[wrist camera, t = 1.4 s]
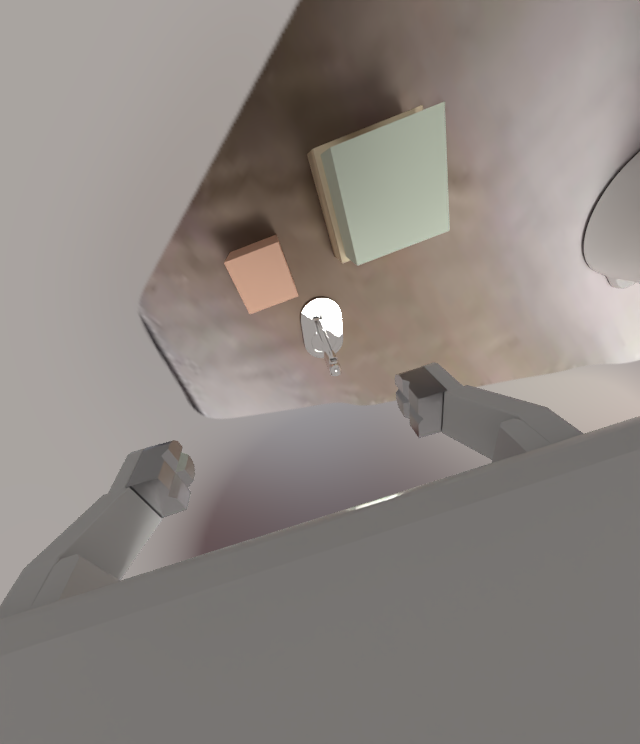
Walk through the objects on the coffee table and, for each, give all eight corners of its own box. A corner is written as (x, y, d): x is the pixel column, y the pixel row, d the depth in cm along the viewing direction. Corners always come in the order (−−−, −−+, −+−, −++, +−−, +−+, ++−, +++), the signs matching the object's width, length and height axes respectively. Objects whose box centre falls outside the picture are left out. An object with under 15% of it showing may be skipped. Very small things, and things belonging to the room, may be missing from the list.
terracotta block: (276, 234, 27) (278, 241, 23) (294, 281, 30) (298, 296, 26) (230, 252, 28) (223, 262, 23) (251, 297, 30) (249, 314, 26)
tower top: (416, 116, 21) (444, 101, 18) (426, 225, 26) (449, 230, 22) (320, 154, 22) (330, 147, 18) (346, 256, 26) (357, 265, 23)
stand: (339, 293, 32) (343, 352, 36) (297, 300, 31) (306, 359, 36) (357, 318, 25) (360, 386, 30) (305, 327, 25) (315, 394, 30)
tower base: (401, 117, 24) (422, 104, 21) (412, 225, 29) (431, 229, 26) (306, 154, 25) (312, 148, 21) (333, 255, 30) (342, 263, 26)
